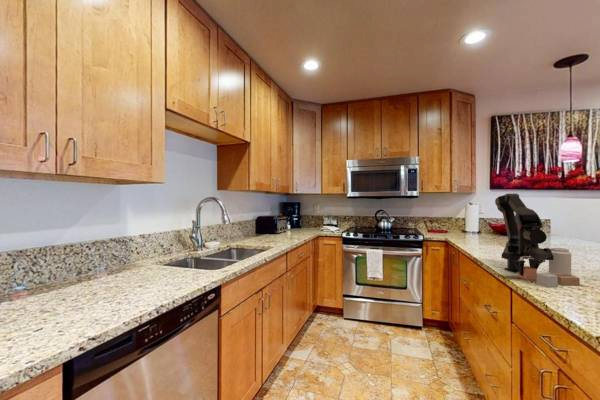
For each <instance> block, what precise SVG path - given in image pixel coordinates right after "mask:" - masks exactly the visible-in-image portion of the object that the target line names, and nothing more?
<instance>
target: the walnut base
mask: <svg viewBox="0 0 600 400" xmlns="http://www.w3.org/2000/svg"><path fill="white" fill-rule="evenodd" d="M547 273H548V274H552V275H556V276H558V286H560V285H561V287H565V286H566V287H567V286H568V287H570V286H571V287H580V283H581V282H580V281H581V280H580V277H578V276H575V275H572V274H571V275H569V274H565V273H550V272H547Z"/></svg>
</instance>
